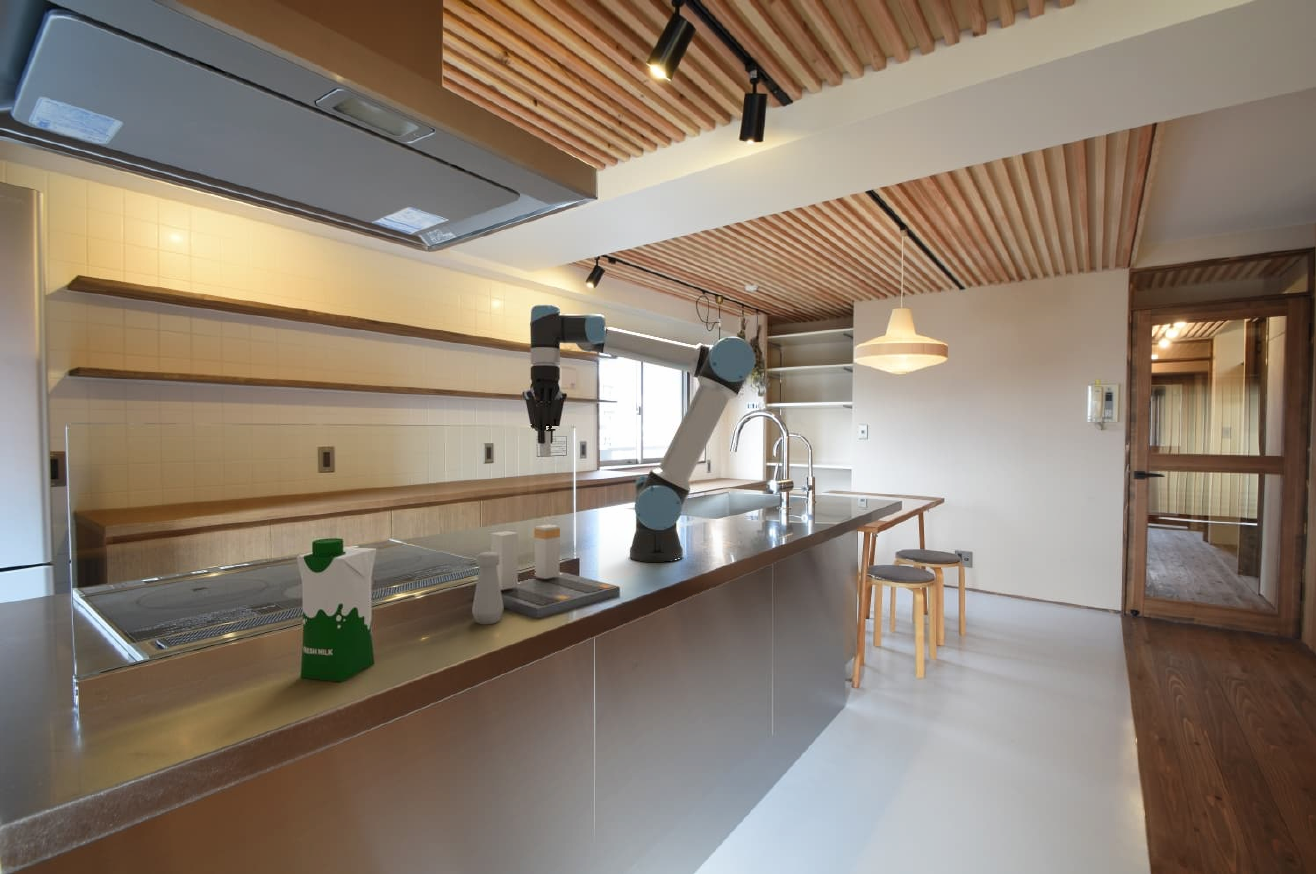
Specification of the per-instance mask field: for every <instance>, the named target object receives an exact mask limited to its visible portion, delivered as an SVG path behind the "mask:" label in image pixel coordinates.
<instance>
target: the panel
mask: <svg viewBox="0 0 1316 874" xmlns="http://www.w3.org/2000/svg"><path fill="white" fill-rule="evenodd" d="M620 588H621V587H620V586H618V585H615V584H611V583H607V582H603V581H598V580H595V579H591V578H586V577H583V576H578V575H576V574H571V573H567V572H564V571H560V576H556V577H552V578H548V579H544V578H540V577H535V578H533V579H528V580H524V581H520V582H518V586H517V587H513V588H509V589H504V590H500V591H501V596H502V601H503V609H507V610H510V611H512V612H513V611H514V612H515V613H519V614H520V615H521V614H522V615H524V616H526V617H530V618H533V619H535V618H536V620H539V619H543V618H547V617H550V616H553V615H556V614H557V615H558V614H561V613H564V612H567V611H571V609H572V610H574V608H575V609H578V608H582V607H585V606H589V605H592V604H595V603H599V601H600V602H603V601H606V600H610V599H613V598H617V597H620V596H621V595H620V594H621V589H620ZM619 595H620V596H619ZM546 616H547V617H546Z"/></svg>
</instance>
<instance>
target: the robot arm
mask: <svg viewBox="0 0 1316 874" xmlns="http://www.w3.org/2000/svg"><path fill="white" fill-rule="evenodd" d="M529 327H530V330H529V331H530V332H529V333H530V334H529V335H530V364H531V365H532V366H530V380H531V384H530V387H529V389H527V390H526V391H523V392H522V397H523V398H524V401H525V405H526V409H527V414H528V418H529V419H528V420H529V423H530V424H532V425H530V428H531V429H534V430H535V432H537V444H539V457H551V455H552V454H551V453H552V450H551V449H552V448H551V447H552V443H553V441H554V437H553V436H554V435H553V433H554V432H556V430H557V429H551V428H552V426H559V427H560V424H561V420H562V414H563V410H564V409H563V408H564V404H565V401H566V399H567V397H568V394H567V393H565V392H562V390H560V389H561V386H560V385H559V382H560V380H561V371H560V370H561V369H560V367H559V365H561V353H560V352H561V349H560V348H561V347H560V346H561V344H576V346H577V347H578V349H581V350H582V351H584V352H596V353H598V354H605V355H609V356H615V357H618V358H619V357H620V358H624V359H629V360H632V361H636V362H637V361H638V362H641V363H647V364H649V365H650V364H651V365H654V366H660V367H664V368H669V369H672V370H679V371H682V372H688V373H689V374H690V376H691V377H693V378H696V379H697V381H698V385H699V386H698V388H697V390H696V391H695V394H694V396H693V398H692V400H691V402H690V403H689V405H688V407H687V409H686V412H685V414H684V416H683V418H682V419H681V422H680V424H679V426H678V428H677V430H676V432H675V434H674V435H673V437H672V440H671V442H670V444H669V446H668V448H667V450H666V452H665V454H664V456H663V457H662V460H661V462H660V464H659V465H658V467H655V468H652V469H650V471H649V473H648V475H643V476H638V477H637V478H636V481H635V502H634V503H635V504H634V512H635V532H634V536H633V539H632V543H631V546H630V547H629V557H630V559H631V558H632V559H631V560H633V561H637V560H638V562H643V561H644V562H647V563H663V562H662V561H669V562H672V561H671V560H675V559H678V558H681V559H682V558H683V557H682V556H684V549H683V547H682V545H681V540H680V537H679V534H678V533H679V532H678V530H677V529H678V528H677V525H678V523H677V522H678V520H679V519H680V517H681V515H682V511H683V509H682V508H683V506H684V504H685V502H686V500H687V497H688V495H689V494H690V493H691V487H690V482H689V481H690V479H691V477H692V475H693V473H694V470H695V469H696V467H697V465H698V463H699V460H700V459H701V457H702V455H703V452H704V450H705V448H706V446H707V445H708V442H709V440H710V439H711V437H712V434H713V433H714V430H715V429H716V426H717V425H718V423H719V421H720V419H721V416H722V415H723V412H724V410H725V409H726V407H727V404H728V402H729V401H730V400H732V399H735V398H736V397H738V396H739V394H740V391H741V390H742V388H743V385H744V383H745V382H746V379H748V377H750V375H751V374H752V373H753V370H754V369H755V365H756V355H755V352H754V349H753V348H752V346H751V345H750V343H749V342H747V340H746V339H745V340H744V338H741V337H738V336H726V337H723V338H720V339H718V340H717V341H716V342H715V343H714V344H704V343H698V344H696V345H692V344H687V343H683V342H678V341H674V340H669V339H664V338H660V337H656V336H651V335H648V334H647V335H646V334H641V333H637V332H632V331H628V330H623V329H618V328H615V327H608V326H607V322H606V317H605V316H604V315H602V314H595V313H589V314H588V313H586V314H584V313H583V314H581V313H576V314H574V313H573V314H571V313H569V314H566V313H565V314H564V313H561V311H560V307H559V306H557V305H551V304H538V305H537V304H536V305H534V306H533V307H532V308H531V310H530V323H529ZM546 426H549V427H548V428H549V429H548V430H546Z"/></svg>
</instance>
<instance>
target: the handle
mask: <svg viewBox="0 0 1316 874" xmlns="http://www.w3.org/2000/svg"><path fill="white" fill-rule="evenodd" d="M560 537H561V526H560V525H555V524H549V523H548V524H542V525H535V526H534V576H536V577H540V578H544V579H548V578H552V577H556V576H560V572H561V571H560V569H561V568H560V566H561V565H560V552H561V551H560V546H561V545H560V543H561V542H560V541H561V540H560ZM535 571H536V572H535Z"/></svg>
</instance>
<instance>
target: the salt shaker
mask: <svg viewBox="0 0 1316 874" xmlns="http://www.w3.org/2000/svg"><path fill="white" fill-rule="evenodd" d="M499 562H500V557H499V554H498V553H496V552H491V551H483V552H480V553H478V554H477V555H476V566H477V567H479V569H478V574H477V580H476V586H475V590H474V596H473V602H472V608H471V613H472V616H473V617H474V620H475V622H476V624H479V625H483V626H484V625H493V624H496V623H498V622H500V620H501V617H502V614H503V613H504V607H503V601H502V596H501V591H500V585H499V579H498V573H497V567H496V566H497V565H498V564H499Z"/></svg>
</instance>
